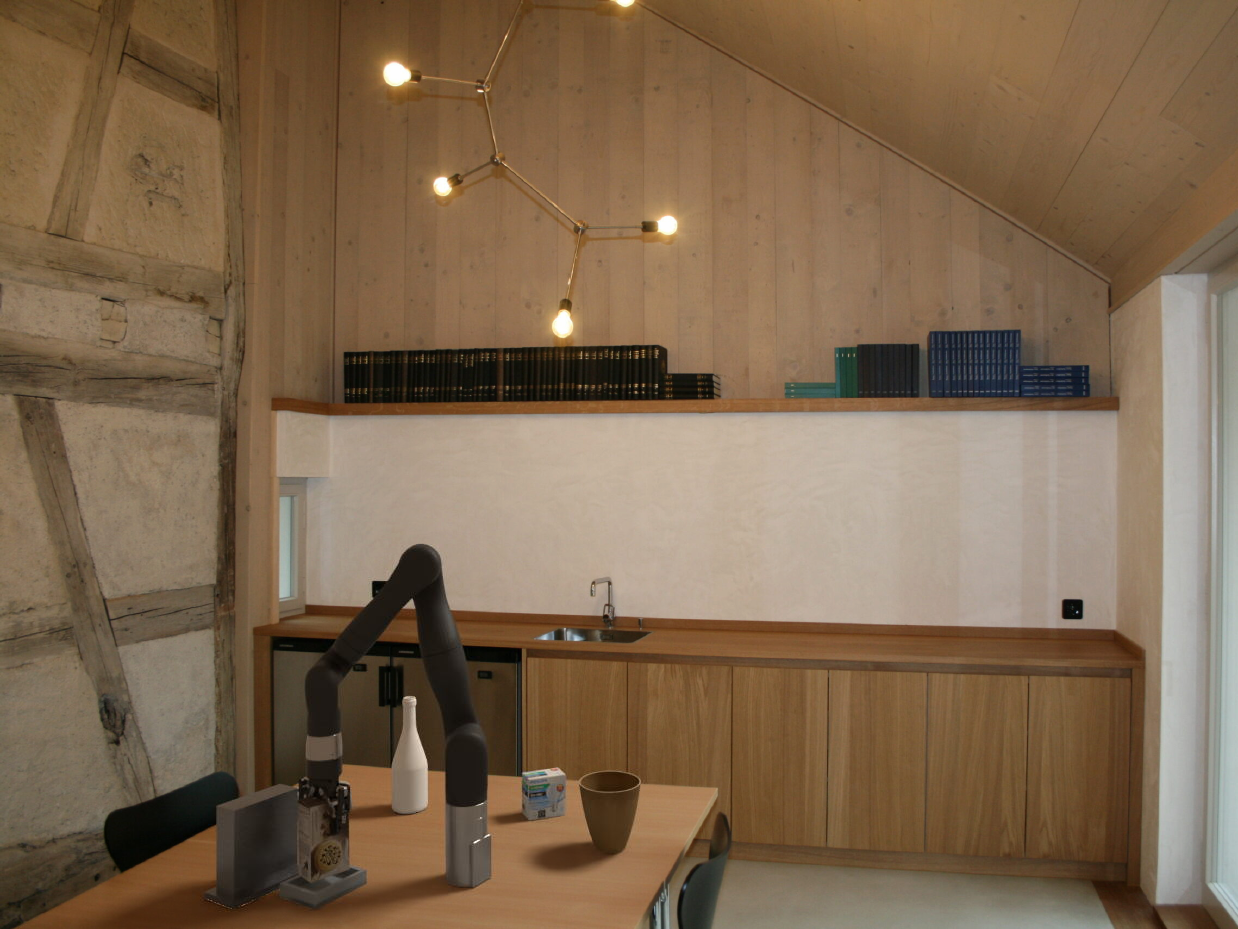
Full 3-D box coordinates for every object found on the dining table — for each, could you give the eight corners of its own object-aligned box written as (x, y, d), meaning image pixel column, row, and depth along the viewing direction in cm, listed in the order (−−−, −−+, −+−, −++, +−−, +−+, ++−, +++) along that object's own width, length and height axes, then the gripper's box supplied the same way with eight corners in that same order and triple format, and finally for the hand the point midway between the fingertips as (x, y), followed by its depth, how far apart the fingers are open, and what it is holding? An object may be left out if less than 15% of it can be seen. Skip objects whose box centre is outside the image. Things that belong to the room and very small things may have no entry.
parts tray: (366, 883, 192) (366, 869, 192) (314, 910, 180) (314, 895, 181) (332, 872, 198) (332, 859, 198) (279, 897, 186) (279, 883, 186)
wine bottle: (411, 800, 244) (411, 691, 245) (435, 807, 239) (434, 696, 240) (384, 810, 237) (383, 698, 237) (407, 817, 231) (407, 703, 232)
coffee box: (336, 861, 195) (336, 788, 195) (350, 870, 190) (350, 795, 191) (296, 874, 188) (296, 798, 189) (310, 883, 184) (310, 806, 184)
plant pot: (566, 848, 210) (566, 781, 210) (609, 830, 221) (608, 766, 221) (611, 866, 200) (611, 795, 200) (654, 846, 211) (653, 779, 211)
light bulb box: (528, 821, 228) (528, 779, 228) (520, 812, 234) (520, 772, 234) (567, 815, 232) (566, 774, 232) (558, 806, 238) (558, 766, 238)
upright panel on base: (309, 875, 197) (309, 787, 197) (233, 910, 181) (233, 814, 181) (280, 865, 202) (280, 780, 203) (204, 899, 186) (204, 806, 186)
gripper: (287, 753, 191) (287, 830, 190) (333, 763, 183) (332, 843, 183) (315, 744, 197) (315, 818, 197) (360, 754, 190) (360, 831, 189)
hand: (323, 830), depth 190 cm, fingers closed on coffee box, 7 cm apart
